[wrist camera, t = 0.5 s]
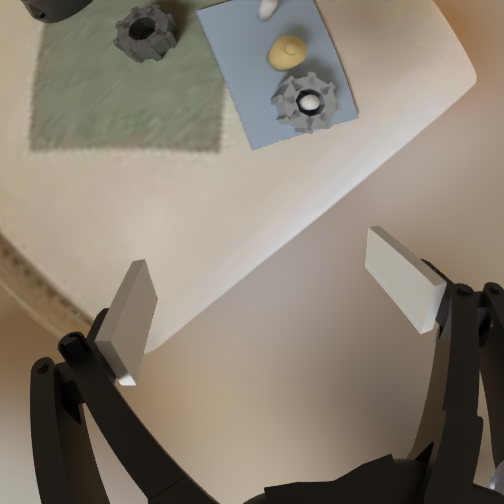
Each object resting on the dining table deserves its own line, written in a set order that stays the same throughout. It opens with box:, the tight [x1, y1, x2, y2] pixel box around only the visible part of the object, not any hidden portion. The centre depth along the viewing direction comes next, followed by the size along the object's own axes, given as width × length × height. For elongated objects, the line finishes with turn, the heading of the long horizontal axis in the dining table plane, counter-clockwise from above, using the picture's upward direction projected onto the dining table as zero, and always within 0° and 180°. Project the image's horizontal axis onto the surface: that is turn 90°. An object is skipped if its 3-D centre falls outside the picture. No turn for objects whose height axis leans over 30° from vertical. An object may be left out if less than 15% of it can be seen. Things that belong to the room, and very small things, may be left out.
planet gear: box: [113, 4, 178, 63], centre depth 25 cm, size 7×8×5 cm
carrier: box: [196, 0, 358, 150], centre depth 28 cm, size 22×16×7 cm
